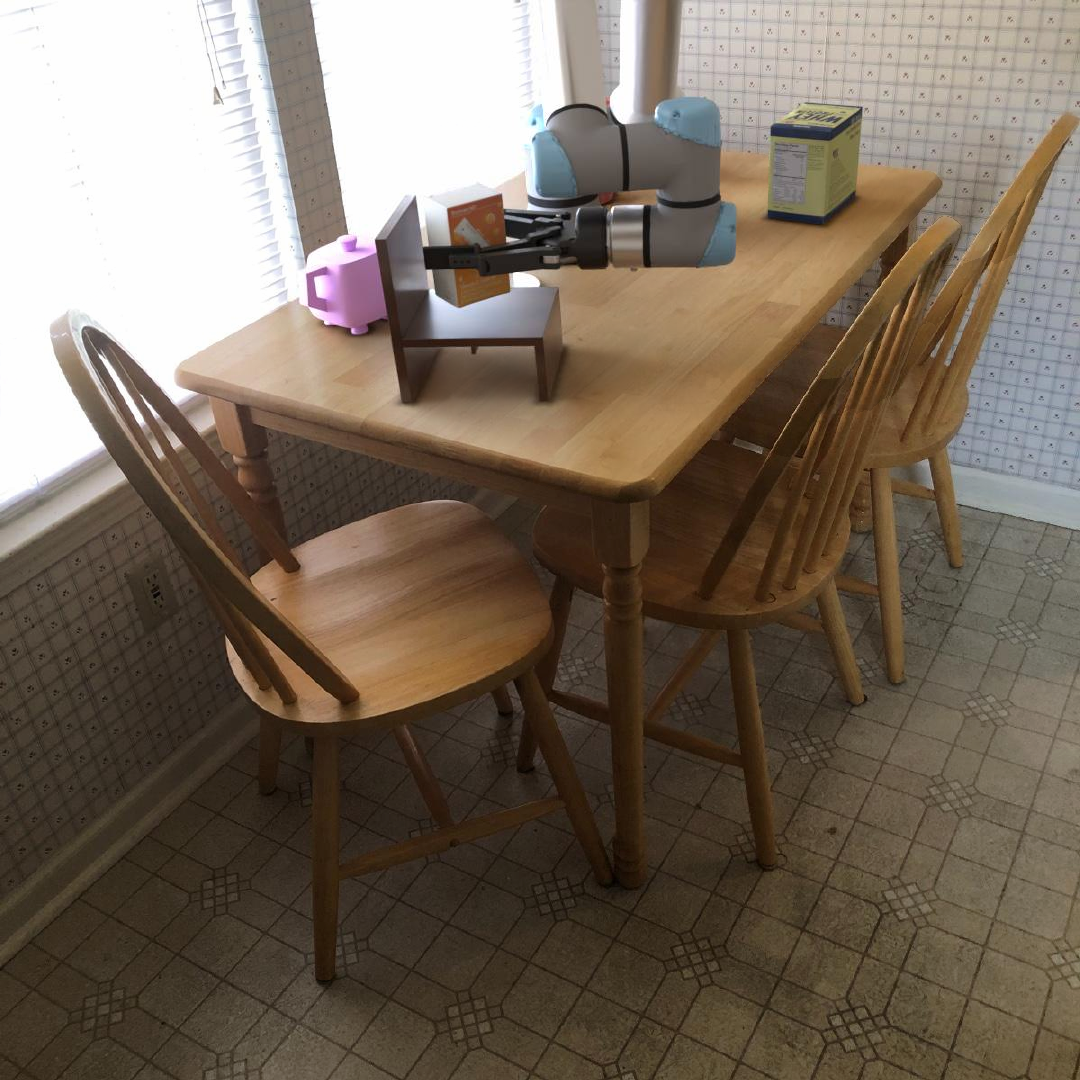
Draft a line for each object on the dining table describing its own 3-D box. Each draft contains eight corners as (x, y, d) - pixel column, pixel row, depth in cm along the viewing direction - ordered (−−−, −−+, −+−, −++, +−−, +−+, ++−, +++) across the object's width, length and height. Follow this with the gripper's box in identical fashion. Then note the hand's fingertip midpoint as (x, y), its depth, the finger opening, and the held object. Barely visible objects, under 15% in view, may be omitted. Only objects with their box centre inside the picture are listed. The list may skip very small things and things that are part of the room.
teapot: (339, 352, 161) (322, 267, 153) (285, 332, 168) (267, 250, 160) (438, 303, 172) (427, 222, 165) (384, 287, 179) (371, 209, 172)
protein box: (856, 197, 197) (864, 105, 188) (824, 226, 186) (831, 130, 177) (799, 190, 202) (805, 100, 193) (765, 218, 191) (769, 125, 182)
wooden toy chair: (428, 348, 159) (405, 195, 147) (563, 347, 156) (551, 190, 144) (401, 402, 146) (374, 239, 134) (548, 402, 143) (534, 235, 131)
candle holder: (483, 274, 181) (480, 248, 178) (552, 279, 176) (550, 253, 174) (450, 303, 172) (447, 276, 169) (522, 310, 168) (519, 283, 165)
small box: (458, 310, 141) (445, 208, 133) (434, 295, 145) (420, 196, 138) (512, 292, 144) (503, 191, 137) (487, 278, 149) (476, 180, 141)
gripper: (602, 303, 131) (418, 306, 134) (618, 235, 149) (454, 240, 153) (599, 240, 127) (408, 246, 130) (615, 178, 145) (447, 185, 148)
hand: (433, 242), depth 141 cm, fingers closed on small box, 10 cm apart
